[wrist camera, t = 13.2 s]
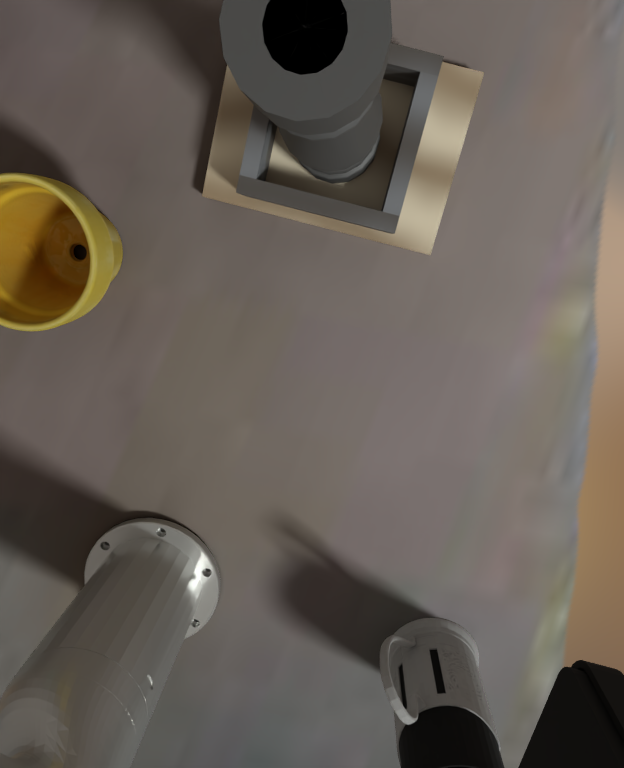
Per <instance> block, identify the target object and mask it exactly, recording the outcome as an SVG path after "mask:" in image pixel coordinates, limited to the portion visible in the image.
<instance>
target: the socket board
mask: <svg viewBox="0 0 624 768" xmlns="http://www.w3.org/2000/svg"><path fill="white" fill-rule="evenodd" d="M443 58H444V56H441V55H437V54H433V53H429V52H425V51H421V50H417V49H413V48H409V47H406V46H402V45H398V44H394V43H391V46H390V52H389V58H388V63H387V66H386V70H385V73H384V76H383V79H382V83H381V86H380V89H379V93H380V95H381V97H382V114H383V122H382V125H381V128H380V140H379V145H378V148H377V151H376V154H375V157H374V160H373V162H372V163H371V164H370V165H369V167H368V168H367V169H366V170H365V172H364V173H363V174H362V175H360V176H358V177H356V178H354V179H353V180H351V181H349V182H343V183H334V184H332V183H329V182H325V181H322V180H319V179H316V178H315V177H314V176H313V175H312V174H311V173H310V172H308V171H307V170H306V169H305V168H304V167H303V166H302V165H301V164H300V162H299V160H298V159H297V158H296V157H295V156H294V155H293V154H292V153H290V151H289V150H288V148H287V146H286V144H285V142H284V140H283V138H282V136H281V134H280V132H279V127H278V126H277V125H275V124H274V123H273V122H272V121H271V120H270V119H269V118H267V117H266V116H265V115H264V114H263V113H262V112H261V111H259V110H258V109H257V108H256V107H255V106H254V105H253V104H252V102H251V101H250V100H249V99H248V98H247V97H246V96H245V94H244V93H243V92H242V91H241V90H240V89H239V87H238V85H237V83H236V81H235V79H234V77H233V75H232V73H231V71H230V69H229V67H228V65H227V68H226V74H225V79H224V84H223V89H222V94H221V100H220V105H219V110H218V115H217V121H216V126H215V131H214V136H213V142H212V147H211V152H210V157H209V162H208V168H207V173H206V178H205V183H204V189H203V194H202V196H203V197H206V198H210V199H214V200H218V201H222V202H226V203H230V204H233V205H237V206H241V207H245V208H249V209H253V210H257V211H261V212H265V213H268V214H272V215H276V216H280V217H284V218H288V219H292V220H296V221H299V222H303V223H307V224H311V225H315V226H319V227H323V228H327V229H330V230H334V231H338V232H342V233H346V234H350V235H354V236H358V237H362V238H365V239H369V240H373V241H377V242H381V243H385V244H389V245H393V246H396V247H400V248H404V249H408V250H412V251H416V252H420V253H424V254H427V255H431V251H432V248H433V245H434V241H435V238H436V234H437V231H438V228H439V224H440V221H441V217H442V214H443V211H444V207H445V204H446V200H447V197H448V194H449V190H450V187H451V184H452V180H453V177H454V173H455V170H456V167H457V163H458V160H459V156H460V153H461V150H462V146H463V143H464V139H465V136H466V133H467V129H468V126H469V122H470V119H471V116H472V112H473V109H474V105H475V102H476V99H477V95H478V92H479V88H480V85H481V82H482V78H483V75H484V72H480V71H476V70H472V69H468V68H464V67H460V66H457V65H453V64H449V63H445V62H442V61H443Z"/></svg>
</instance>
